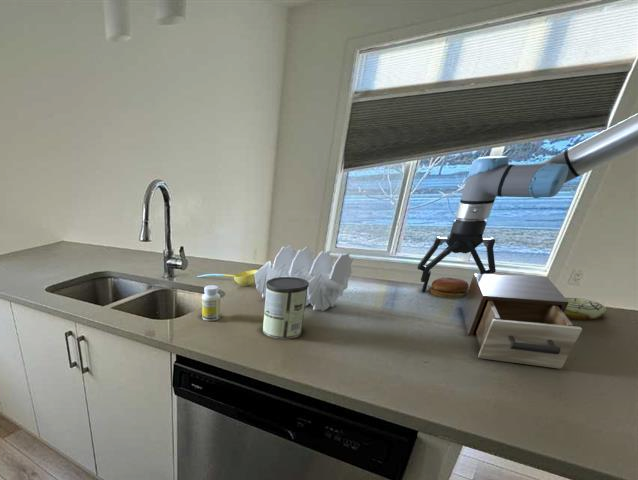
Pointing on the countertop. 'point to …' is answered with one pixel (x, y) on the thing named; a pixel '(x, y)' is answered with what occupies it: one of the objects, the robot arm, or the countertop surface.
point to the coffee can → (284, 307)
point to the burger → (449, 287)
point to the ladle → (239, 277)
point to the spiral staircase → (309, 274)
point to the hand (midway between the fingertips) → (446, 293)
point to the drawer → (525, 333)
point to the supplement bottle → (211, 303)
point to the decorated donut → (583, 309)
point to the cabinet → (507, 294)
